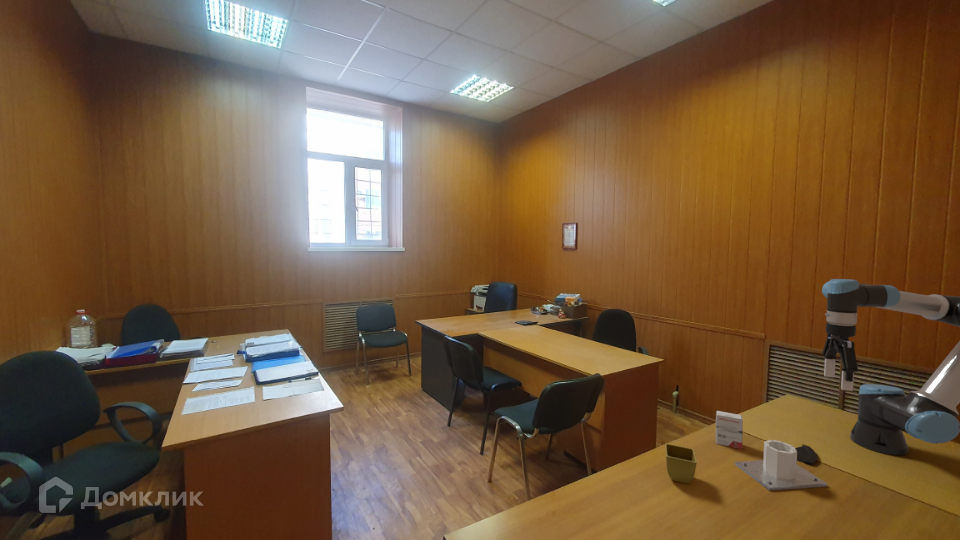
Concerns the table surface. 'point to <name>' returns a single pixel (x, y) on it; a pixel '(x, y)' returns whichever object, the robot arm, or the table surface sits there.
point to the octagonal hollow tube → (780, 459)
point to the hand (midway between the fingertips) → (837, 383)
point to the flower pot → (680, 463)
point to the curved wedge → (806, 455)
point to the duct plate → (773, 483)
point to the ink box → (729, 429)
